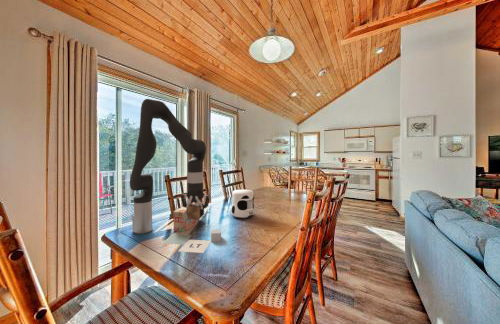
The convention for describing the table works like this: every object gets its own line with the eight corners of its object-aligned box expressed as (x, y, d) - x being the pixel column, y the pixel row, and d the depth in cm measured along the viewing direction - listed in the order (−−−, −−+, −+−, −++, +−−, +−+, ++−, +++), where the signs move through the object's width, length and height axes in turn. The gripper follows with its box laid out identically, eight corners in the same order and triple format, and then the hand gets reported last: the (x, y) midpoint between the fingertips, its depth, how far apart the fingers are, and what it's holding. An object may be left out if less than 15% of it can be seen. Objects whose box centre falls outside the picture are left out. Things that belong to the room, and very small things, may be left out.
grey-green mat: (161, 244, 98) (161, 243, 98) (172, 234, 109) (172, 233, 108) (183, 245, 97) (183, 244, 97) (191, 236, 108) (191, 234, 107)
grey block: (211, 243, 100) (211, 233, 100) (211, 238, 105) (211, 229, 104) (221, 242, 101) (221, 233, 100) (220, 238, 106) (220, 229, 105)
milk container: (233, 211, 151) (234, 188, 150) (256, 213, 149) (256, 189, 148) (228, 219, 134) (228, 193, 133) (253, 221, 132) (253, 194, 131)
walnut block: (187, 219, 92) (187, 206, 92) (192, 215, 98) (192, 203, 97) (198, 219, 92) (198, 207, 91) (202, 215, 97) (202, 203, 97)
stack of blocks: (191, 219, 134) (191, 201, 133) (199, 220, 132) (199, 202, 132) (173, 232, 113) (173, 211, 112) (183, 233, 111) (183, 211, 111)
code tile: (178, 252, 90) (178, 251, 90) (188, 240, 102) (188, 239, 102) (203, 254, 89) (203, 252, 89) (211, 241, 101) (211, 240, 101)
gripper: (177, 182, 91) (177, 217, 92) (207, 183, 89) (207, 219, 90) (184, 179, 98) (184, 212, 99) (212, 180, 97) (212, 214, 98)
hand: (195, 215), depth 95 cm, fingers closed on walnut block, 5 cm apart
